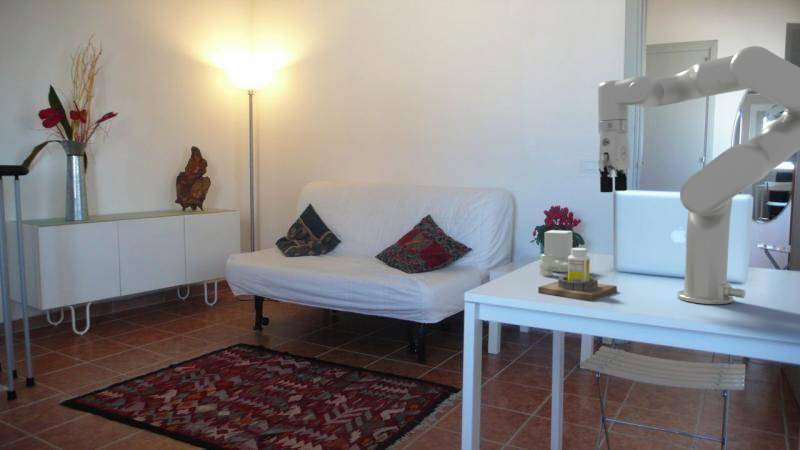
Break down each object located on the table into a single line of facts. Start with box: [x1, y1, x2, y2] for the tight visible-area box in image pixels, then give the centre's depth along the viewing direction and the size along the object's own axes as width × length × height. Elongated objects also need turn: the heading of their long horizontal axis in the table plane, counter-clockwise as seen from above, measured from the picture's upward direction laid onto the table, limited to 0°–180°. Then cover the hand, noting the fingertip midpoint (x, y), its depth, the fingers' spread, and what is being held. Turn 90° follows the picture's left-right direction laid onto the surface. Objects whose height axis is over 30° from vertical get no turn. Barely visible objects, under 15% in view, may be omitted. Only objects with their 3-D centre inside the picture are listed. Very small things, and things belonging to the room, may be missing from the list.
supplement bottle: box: [567, 247, 591, 282], centre depth 164 cm, size 6×6×10 cm
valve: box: [539, 253, 568, 277], centre depth 188 cm, size 7×7×12 cm
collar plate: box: [537, 275, 618, 302], centre depth 164 cm, size 15×15×4 cm
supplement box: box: [543, 229, 573, 273], centre depth 198 cm, size 7×7×13 cm
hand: (613, 191), depth 166 cm, fingers open, 9 cm apart
